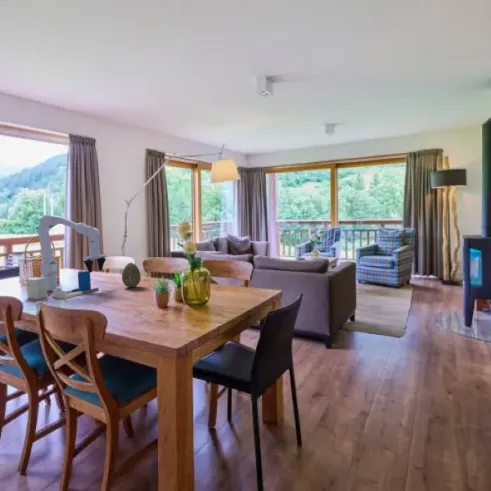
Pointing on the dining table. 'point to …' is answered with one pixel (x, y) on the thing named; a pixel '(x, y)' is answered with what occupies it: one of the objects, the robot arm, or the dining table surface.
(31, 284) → the small box
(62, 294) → the dock
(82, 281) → the beverage can
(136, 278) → the decorative egg
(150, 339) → the dining table surface
